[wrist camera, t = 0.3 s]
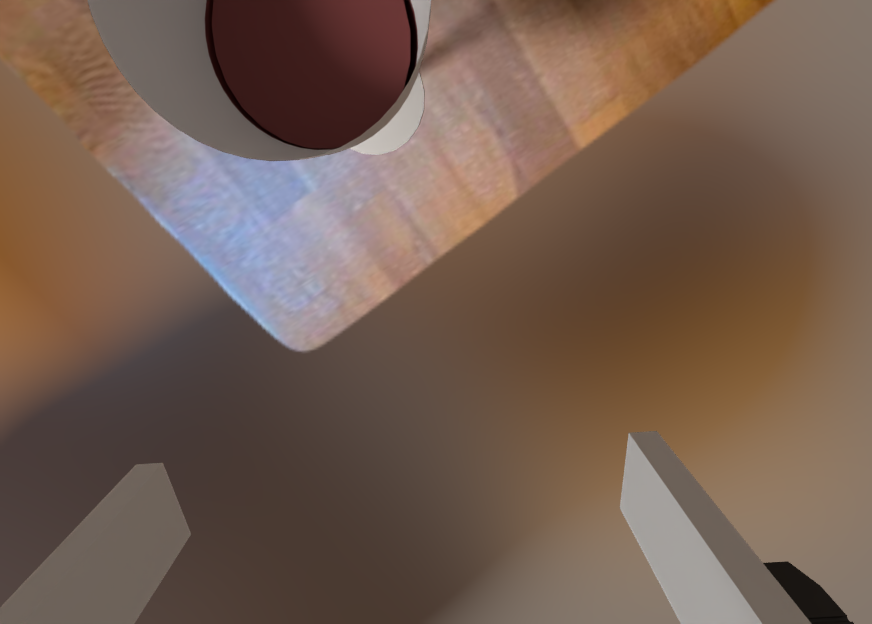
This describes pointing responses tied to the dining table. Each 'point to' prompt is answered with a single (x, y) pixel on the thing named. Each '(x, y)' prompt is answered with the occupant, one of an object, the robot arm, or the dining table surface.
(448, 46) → the dining table surface
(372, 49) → the wineglass
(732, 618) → the robot arm
